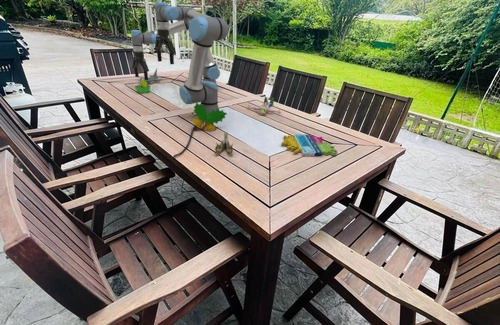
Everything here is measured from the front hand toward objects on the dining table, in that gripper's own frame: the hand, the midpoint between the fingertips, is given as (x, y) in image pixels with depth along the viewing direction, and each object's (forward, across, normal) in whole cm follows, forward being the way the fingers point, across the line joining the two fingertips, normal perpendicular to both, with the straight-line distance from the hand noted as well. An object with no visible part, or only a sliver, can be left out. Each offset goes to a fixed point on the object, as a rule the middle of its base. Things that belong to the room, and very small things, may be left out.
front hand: (165, 62), depth 184 cm
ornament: (+31, +53, -11) cm, 63 cm away
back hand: (+19, -45, +7) cm, 49 cm away
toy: (+31, +56, +48) cm, 80 cm away
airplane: (+31, -70, +31) cm, 82 cm away
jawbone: (+31, +81, -28) cm, 91 cm away
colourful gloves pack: (+31, +110, +11) cm, 115 cm away
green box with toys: (+31, -45, +7) cm, 55 cm away
